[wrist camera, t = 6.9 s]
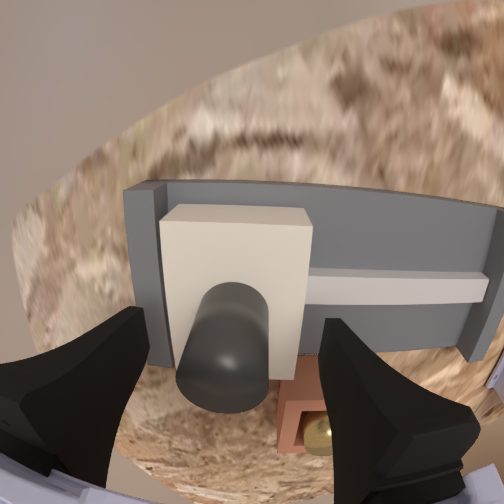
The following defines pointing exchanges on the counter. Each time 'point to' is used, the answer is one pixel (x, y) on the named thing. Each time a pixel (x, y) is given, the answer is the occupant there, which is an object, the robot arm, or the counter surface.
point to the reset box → (298, 404)
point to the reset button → (317, 433)
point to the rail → (351, 262)
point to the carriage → (234, 299)
